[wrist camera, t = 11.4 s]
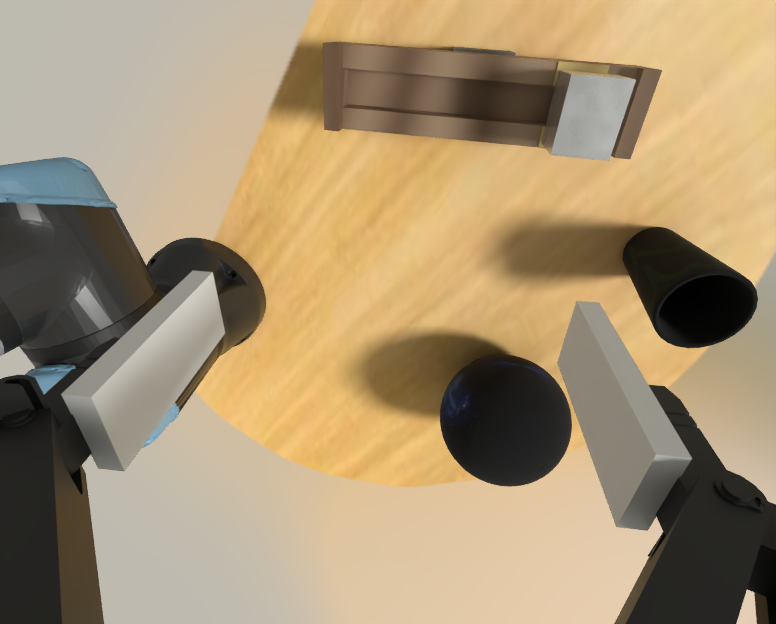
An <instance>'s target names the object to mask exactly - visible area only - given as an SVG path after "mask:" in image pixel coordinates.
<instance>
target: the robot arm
mask: <svg viewBox="0 0 776 624" xmlns="http://www.w3.org/2000/svg"><path fill="white" fill-rule="evenodd" d="M116 208H117V206H116V204H115V203H113V202H112V201H110V199H109V198H108V196H107V194H106V192H105V191H104V189H103V188H102V186H101V184H100V182H99V181H98V179H97V177H96V176H95V174H94V173H93V171H92V170H91V169H90V168H89V167H88V166H87V165H85V164H84V163H82V162H80V161H78V160H76V159H72V158H66V157H62V158H53V159H44V160H37V161H29V162H22V163H16V164H8V165H2V166H0V356H1V355H3V354H5V353H7V352H9V351H11V350H13V349H14V348H16V347H18V346H19V347H20V348H21V349H22V350H23V352H24V353H25V354H26V355H27V357H28V358H29V360H30V361H31V362H32V363H33V365H34V366H35V369H31V370H30V371H29V372H28V373H26V375H15V376H9V377H5V378H2V379H0V624H104V620H103V612H102V604H101V595H100V587H99V579H98V571H97V563H96V555H95V547H94V539H93V531H92V522H91V515H90V506H89V498H88V490H87V483H86V473H85V471H84V469H83V468H82V466H81V465H82V464H83V463H84V462H85V460H86V459H87V458H88V457H89V455H90V454H91V455H92V457H93V459H94V461H95V463H96V465H97V467H98V468H100V469H109V470H118V471H125V470H126V469H127V467H128V466H129V464H130V463H131V462H132V460H133V459H134V458H135V456H136V455H137V453H138V452H139V451H140V449H141V448H143V447H145V446H147V445H149V444H151V443H152V442H153V441H155V440H156V439H157V438H158V436H159V435H160V434H161V433H162V432H163V431H164V429H165V428H166V427H167V426H168V425H169V424H170V423H171V422H172V421H174V420H175V419H176V418H177V416H178V415H179V412H180V411H181V409H182V408H183V406H184V405H185V404H186V402H187V400H188V399H189V398H190V396H191V395H192V394H193V392H194V391H195V389H196V388H197V387H198V385H199V384H200V382H201V381H202V380H203V378H204V377H205V375H206V374H207V373H208V371H209V370H210V368H211V367H212V365H213V364H214V363H215V361H216V360H217V359H218V357H219V356H220V355H222V354H224V353H225V352H227V351H228V350H230V349H231V348H232V347H234V346H237V345H239V344H241V343H242V342H244V341H245V340H247V339H248V338H249V337H250V336H251V335H252V334H253V333H254V331H255V330H256V329H257V327H258V326H259V324H260V323H261V321H262V319H263V317H264V314H265V309H266V298H265V293H264V289H263V286H262V284H261V282H260V280H259V278H258V276H257V275H256V273H255V272H254V270H253V269H252V268H251V266H250V265H249V264H248V263H247V262H246V261H245V260H244V259H243V258H242V257H240V256H239V255H238V254H237V253H235V252H234V251H232V250H231V249H229V248H227V247H226V246H224V245H221V244H219V243H217V242H214V241H211V240H207V239H201V238H184V239H180V240H176V241H173V242H171V243H170V244H168V245H166V246H165V247H164V248H162V249H161V250H160V251H158V252H157V253H156V254H155V255H154V256H153V257H152V258H151V259H150V261H149V262H148V264H147V266H146V264H145V262H144V261H143V259H142V257H141V255H140V253H139V251H138V249H137V247H136V246H135V244H134V242H133V240H132V238H131V237H130V234H129V232H128V231H127V229H126V227H125V225H124V223H123V221H122V219H121V217H120V216H119V214H118V212H117V210H116ZM557 363H558V366H559V369H560V371H561V374H562V377H563V380H564V382H565V385H566V388H567V391H568V394H569V396H570V399H571V402H572V405H573V408H574V410H575V413H576V416H577V419H578V421H579V424H580V427H581V430H582V433H583V435H584V438H585V441H586V444H587V446H588V449H589V452H590V455H591V458H592V460H593V463H594V466H595V469H596V471H597V474H598V477H599V480H600V483H601V485H602V488H603V491H604V494H605V497H606V499H607V502H608V504H609V508H610V511H611V513H612V516H613V519H614V522H615V524H616V527H621V528H631V529H638V530H648V529H649V527H650V526H651V524H652V523H653V521H654V519H655V518H656V516H657V518H658V521H659V523H660V525H661V527H662V530H663V533H662V535H661V536H660V538H659V539H658V541H657V543H656V544H655V545H654V547H653V549H652V550H651V552H650V553H649V555H648V556H649V559H648V560H647V562H646V564H645V567H644V568H643V570H642V572H641V574H640V576H639V578H638V580H637V582H636V583H635V585H634V587H633V589H632V591H631V593H630V595H629V597H628V599H627V601H626V602H625V604H624V606H623V608H622V610H621V612H620V614H619V616H618V618H617V620H616V622H615V624H736V622H737V619H738V616H739V613H740V609H741V606H742V603H743V599H744V596H745V593H746V590H747V589H748V590H750V591H753V592H754V593H755V605H756V617H757V624H776V505H775V504H773V503H770V502H768V501H767V499H766V497H765V496H764V494H763V493H762V492H761V491H760V490H758V488H757V487H756V486H755V485H753V484H752V483H751V482H749V481H748V480H746V479H745V478H743V477H742V476H740V475H737V474H735V473H732V472H730V471H728V470H726V468H725V467H724V465H723V464H722V462H721V461H720V459H719V458H718V456H717V455H716V453H715V452H714V450H713V449H712V447H711V446H710V444H709V443H708V441H707V440H706V438H705V437H704V435H703V434H702V432H701V431H700V429H699V428H697V425H696V423H695V421H694V420H693V418H692V417H691V416H689V412H688V411H687V409H686V408H685V406H684V405H683V403H682V402H681V400H680V399H679V398H677V397H676V396H675V395H674V394H673V393H672V392H671V391H669V390H668V389H667V388H666V387H665V386H655V385H648V384H647V382H646V380H645V379H644V377H643V375H642V374H641V372H640V370H639V369H638V367H637V365H636V364H635V362H634V360H633V359H632V357H631V355H630V354H629V352H628V350H627V349H626V347H625V345H624V343H623V342H622V340H621V338H620V337H619V335H618V333H617V332H616V330H615V328H614V327H613V325H612V323H611V322H610V320H609V318H608V317H607V315H606V313H605V312H604V310H603V308H602V307H601V305H600V303H595V302H583V301H576V305H575V308H574V311H573V314H572V317H571V321H570V324H569V327H568V330H567V334H566V337H565V340H564V343H563V346H562V350H561V353H560V356H559V359H558V362H557Z"/></svg>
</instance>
